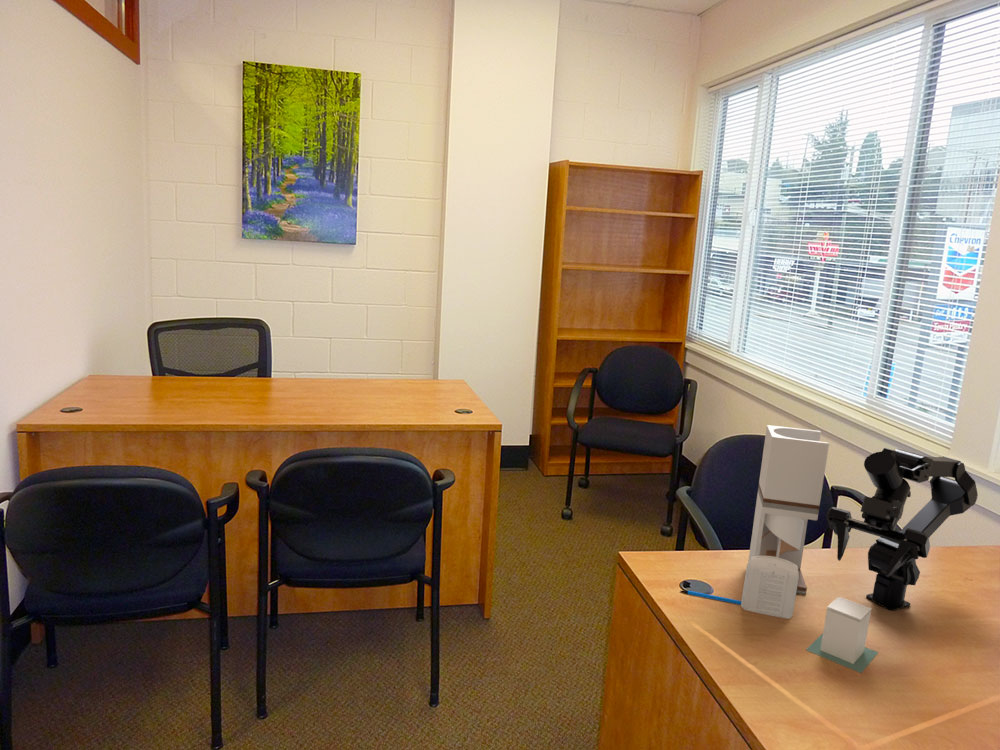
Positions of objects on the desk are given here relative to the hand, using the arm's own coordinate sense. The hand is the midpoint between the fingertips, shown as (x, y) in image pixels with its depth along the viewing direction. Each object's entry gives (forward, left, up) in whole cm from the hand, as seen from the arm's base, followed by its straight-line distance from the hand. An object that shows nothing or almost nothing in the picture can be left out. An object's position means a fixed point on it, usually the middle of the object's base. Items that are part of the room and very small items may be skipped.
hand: (862, 567), depth 148 cm
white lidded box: (+10, +5, -13) cm, 17 cm away
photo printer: (+12, -12, -14) cm, 21 cm away
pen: (+16, -19, -14) cm, 29 cm away
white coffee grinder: (-1, -22, -14) cm, 26 cm away
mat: (+10, +5, -14) cm, 18 cm away
